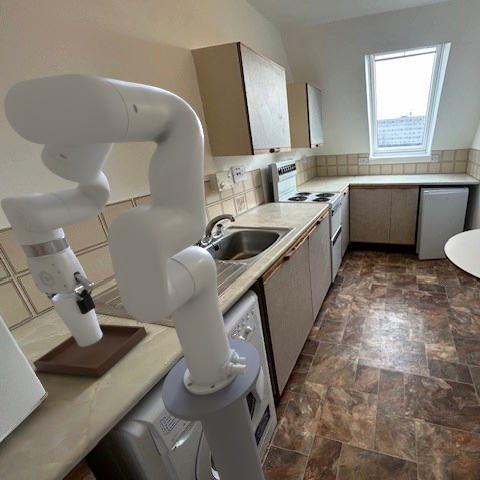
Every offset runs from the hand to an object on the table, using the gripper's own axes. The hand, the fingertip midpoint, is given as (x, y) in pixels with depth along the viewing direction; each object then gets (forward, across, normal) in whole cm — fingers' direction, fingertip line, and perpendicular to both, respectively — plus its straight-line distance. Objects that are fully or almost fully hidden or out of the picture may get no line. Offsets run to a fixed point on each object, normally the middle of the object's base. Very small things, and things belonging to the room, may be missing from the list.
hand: (76, 309), depth 69 cm
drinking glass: (+10, 0, 0) cm, 10 cm away
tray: (+14, 0, 0) cm, 14 cm away
